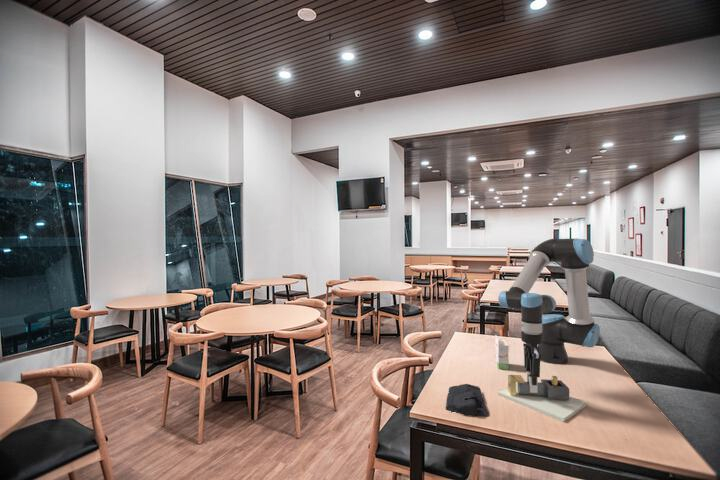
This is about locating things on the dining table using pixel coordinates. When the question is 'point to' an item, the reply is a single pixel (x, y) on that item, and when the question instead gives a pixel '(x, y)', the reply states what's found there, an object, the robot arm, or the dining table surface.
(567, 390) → the link
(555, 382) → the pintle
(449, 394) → the black flat irregular piece
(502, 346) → the ink box
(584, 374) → the dining table surface
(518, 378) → the block
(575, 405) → the board
